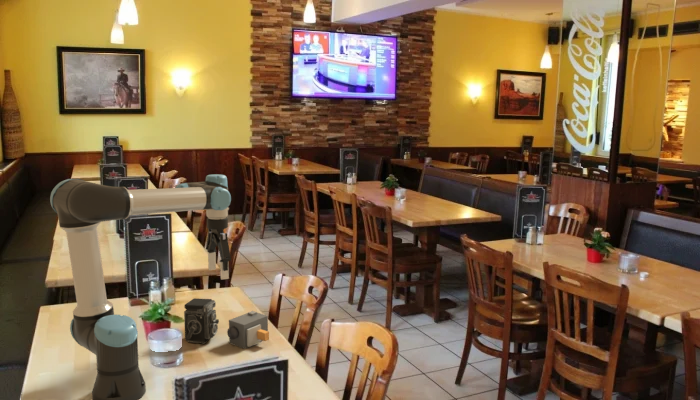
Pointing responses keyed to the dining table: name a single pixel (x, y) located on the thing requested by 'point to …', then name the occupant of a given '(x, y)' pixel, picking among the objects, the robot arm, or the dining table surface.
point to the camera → (200, 320)
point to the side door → (256, 335)
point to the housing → (245, 327)
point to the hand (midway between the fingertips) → (218, 274)
